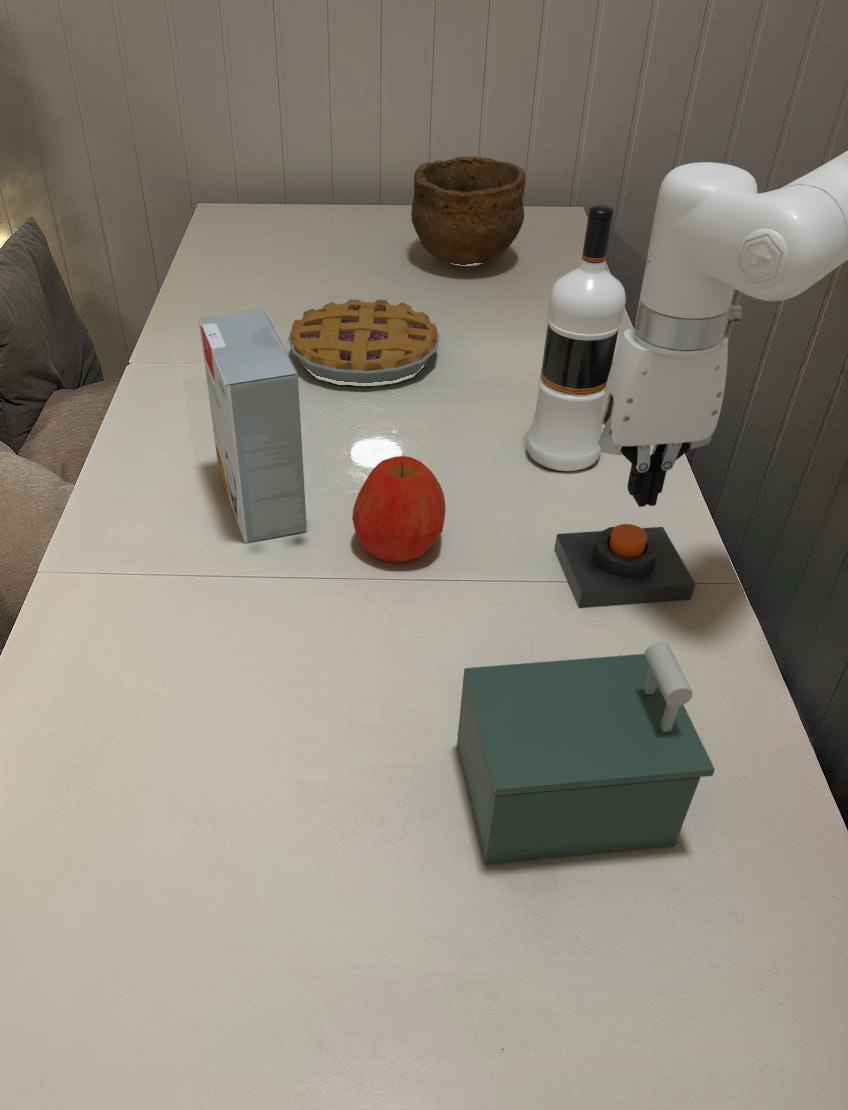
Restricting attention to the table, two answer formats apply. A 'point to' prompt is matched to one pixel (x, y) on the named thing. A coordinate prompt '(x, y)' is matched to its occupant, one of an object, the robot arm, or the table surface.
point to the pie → (363, 341)
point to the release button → (628, 540)
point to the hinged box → (567, 810)
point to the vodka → (578, 355)
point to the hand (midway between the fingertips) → (642, 498)
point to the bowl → (468, 208)
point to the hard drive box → (255, 423)
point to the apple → (399, 510)
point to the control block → (622, 570)
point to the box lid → (586, 722)
